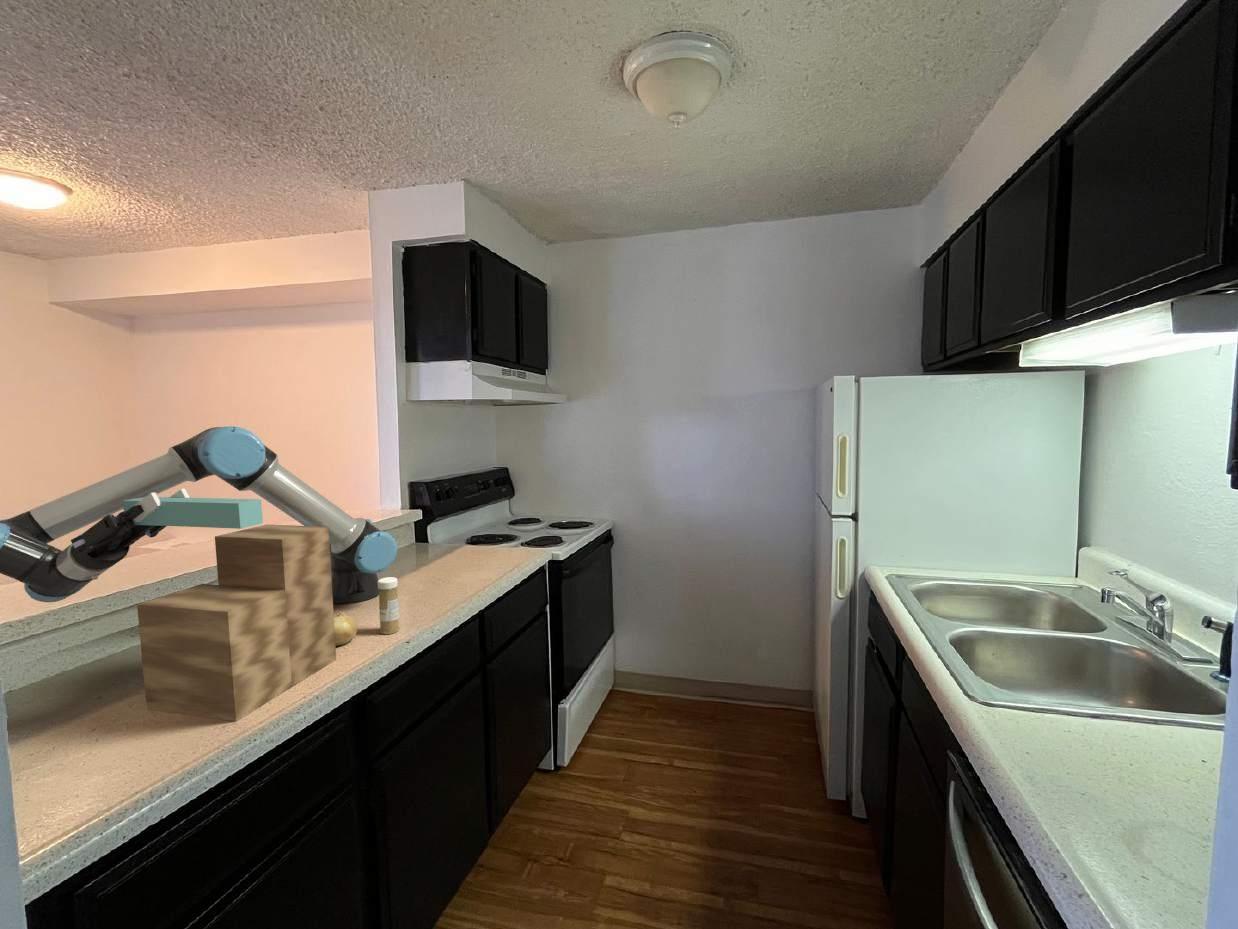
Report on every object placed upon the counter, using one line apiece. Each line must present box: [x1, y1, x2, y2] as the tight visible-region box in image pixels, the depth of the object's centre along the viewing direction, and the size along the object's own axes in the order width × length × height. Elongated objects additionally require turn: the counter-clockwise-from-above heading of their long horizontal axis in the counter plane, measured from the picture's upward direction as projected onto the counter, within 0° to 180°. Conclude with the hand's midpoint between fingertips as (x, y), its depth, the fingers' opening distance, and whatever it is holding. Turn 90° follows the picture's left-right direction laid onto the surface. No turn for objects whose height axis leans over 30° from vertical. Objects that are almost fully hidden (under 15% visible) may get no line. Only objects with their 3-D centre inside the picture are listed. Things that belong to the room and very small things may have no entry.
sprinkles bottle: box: [378, 576, 400, 635], centre depth 129 cm, size 5×5×14 cm
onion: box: [333, 611, 358, 647], centre depth 123 cm, size 8×8×7 cm
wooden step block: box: [136, 524, 337, 722], centre depth 104 cm, size 24×20×30 cm
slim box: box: [123, 496, 264, 530], centre depth 95 cm, size 4×26×4 cm, turn 78°
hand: (171, 497), depth 96 cm, fingers closed on slim box, 4 cm apart
